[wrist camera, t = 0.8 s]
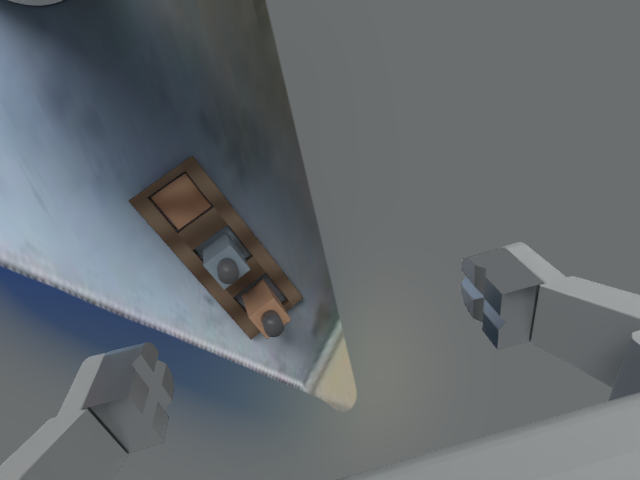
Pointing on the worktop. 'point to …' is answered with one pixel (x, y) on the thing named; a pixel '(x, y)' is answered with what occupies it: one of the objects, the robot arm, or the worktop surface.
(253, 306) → the terracotta plug
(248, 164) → the worktop surface
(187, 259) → the plug dock
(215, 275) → the slate plug
